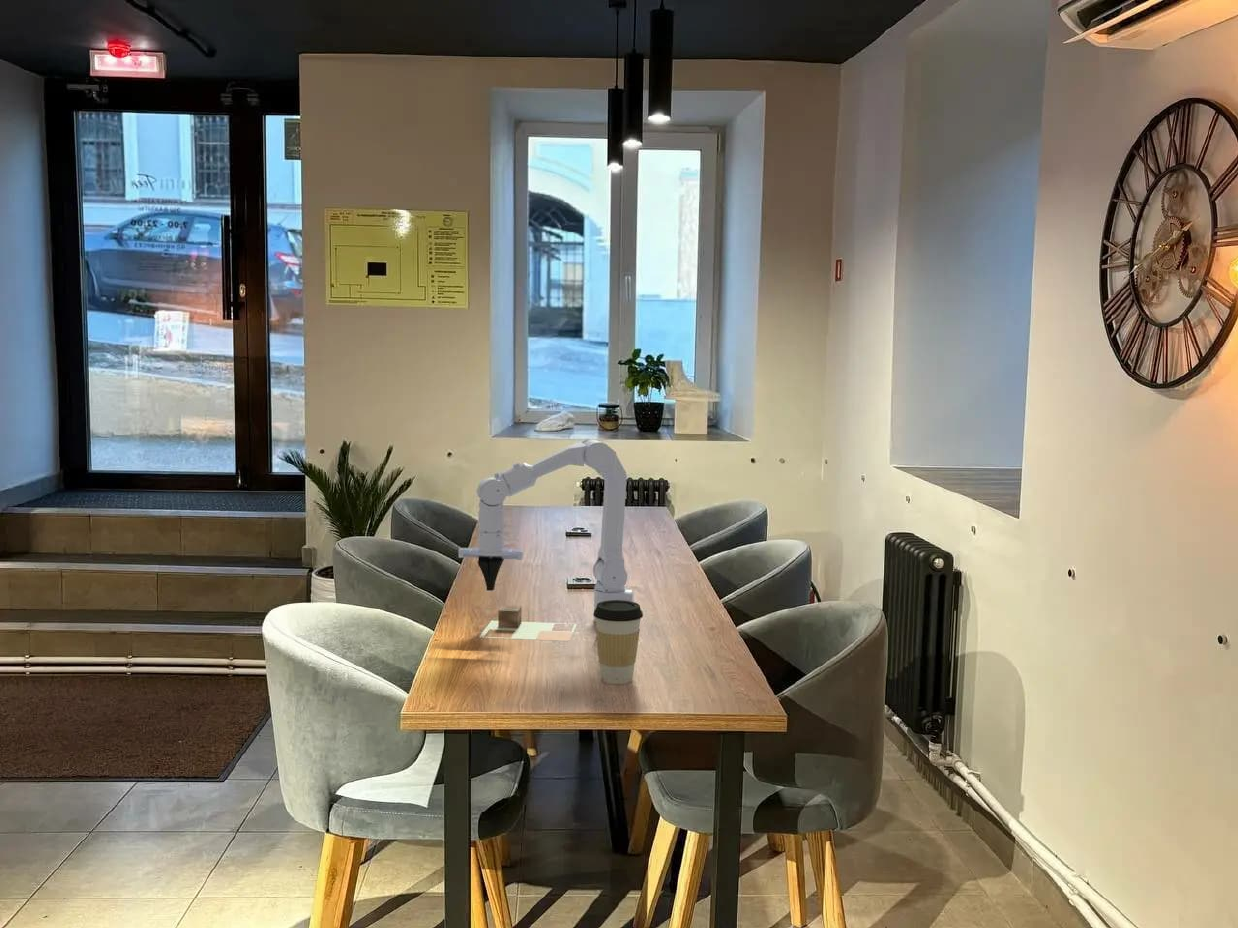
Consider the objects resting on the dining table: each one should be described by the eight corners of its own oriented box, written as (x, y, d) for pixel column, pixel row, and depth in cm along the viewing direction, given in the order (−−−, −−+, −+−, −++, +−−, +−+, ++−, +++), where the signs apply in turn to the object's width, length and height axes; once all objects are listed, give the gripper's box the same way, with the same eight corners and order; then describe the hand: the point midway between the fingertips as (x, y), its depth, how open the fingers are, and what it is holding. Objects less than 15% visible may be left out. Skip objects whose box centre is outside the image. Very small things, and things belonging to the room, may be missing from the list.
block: (521, 623, 244) (521, 606, 244) (518, 628, 240) (518, 611, 239) (502, 622, 244) (502, 605, 244) (498, 627, 240) (498, 610, 239)
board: (576, 630, 244) (576, 623, 244) (569, 647, 231) (569, 640, 230) (491, 626, 246) (491, 620, 246) (478, 643, 232) (478, 637, 232)
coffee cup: (640, 671, 215) (641, 599, 213) (642, 687, 205) (644, 611, 203) (591, 671, 215) (593, 598, 213) (592, 686, 205) (593, 611, 203)
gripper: (525, 528, 243) (525, 586, 245) (463, 526, 244) (463, 584, 246) (520, 534, 236) (519, 593, 238) (456, 532, 237) (456, 591, 239)
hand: (490, 589), depth 241 cm, fingers closed
